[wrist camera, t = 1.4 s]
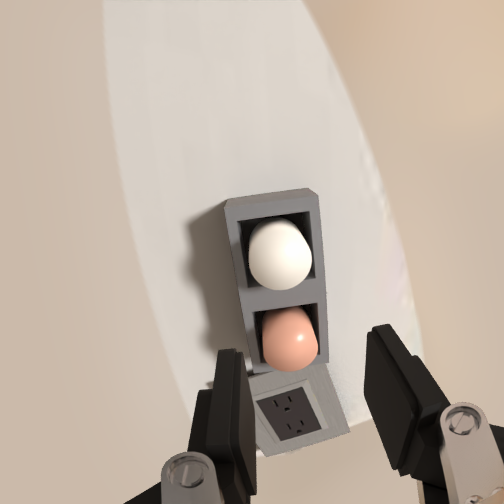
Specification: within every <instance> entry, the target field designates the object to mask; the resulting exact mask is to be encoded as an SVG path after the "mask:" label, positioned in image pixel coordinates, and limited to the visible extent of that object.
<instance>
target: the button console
mask: <svg viewBox="0 0 504 504" xmlns="http://www.w3.org/2000/svg"><path fill="white" fill-rule="evenodd" d="M224 211H225V217H226V223H227V229H228V235H229V241H230V246H231V252H232V258H233V263H234V269H235V275H236V280H237V286H238V291H239V297H240V302H241V308H242V313H243V319H244V324H245V329H246V335H247V340H248V345H249V351H250V356H251V361H252V366H253V372H254V373H262V372H270V371H277V370H276V369H274V368H273V367H271V366H270V365H269V364H268V363H267V362H266V360H265V358H264V353H263V337H259V332H258V326H257V320H256V314H255V311H262V310H270V309H277V308H284V307H291V306H298V305H304V304H311V314H312V328H313V331H314V334H315V337H316V340H317V344H318V352H317V355H316V357H315V359H314V360H313V361H312V362H311V363H310V364H309V365H308V366H311V365H317V364H323V363H329V347H328V320H327V300H326V283H325V267H324V254H323V241H322V230H321V219H320V209H319V199H318V195H317V194H316V193H314V192H313V191H312V190H310V189H309V188H303V189H295V190H287V191H280V192H272V193H265V194H258V195H251V196H244V197H237V198H231V199H228V200H227V202H226V205H225V207H224ZM297 212H302V216H303V225H304V235H305V241H306V243H307V245H308V246H309V249H310V251H311V256H312V263H311V268H310V271H309V273H308V275H307V276H306V278H305V279H304V280H303V281H302V282H301V283H299V284H298V285H296V286H295V287H293V288H290V289H286V290H272V289H269V288H266V287H264V286H263V285H261V284H260V283H258V282H257V280H256V279H255V278H254V277H253V275H252V273H251V270H250V268H248V265H247V259H246V253H245V246H244V240H243V234H242V228H241V222H240V220H247V219H254V218H261V217H268V216H275V215H283V214H290V213H297Z"/></svg>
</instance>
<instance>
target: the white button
mask: <svg viewBox="0 0 504 504" xmlns="http://www.w3.org/2000/svg"><path fill="white" fill-rule="evenodd" d="M311 263H312V256H311V251H310V249H309V246H308V245H307V243H306V241H305V239H304V238H303V236H302V234H301V232H300V231H299V229H298V227H297V226H296V225H295V224H294V223H293V222H291V221H290V220H288V219H285V218H281V217H272V218H268V219H265V220H263V221H261V222H260V223H259V224H257V225H256V227H255V228H254V229H253V231H252V233H251V235H250V239H249V267H250V270H251V273H252V275H253V277H254V278H255V279H256V280H257V282H258V283H260V284H261V285H263V286H264V287H266V288H269V289H272V290H286V289H290V288H293V287H295V286H296V285H298V284H299V283H301V282H302V281H303V280H304V279H305V278H306V276H307V275H308V273H309V271H310V268H311Z"/></svg>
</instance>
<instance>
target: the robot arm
mask: <svg viewBox="0 0 504 504" xmlns="http://www.w3.org/2000/svg"><path fill="white" fill-rule="evenodd" d="M364 396H365V400H366V402H367V405H368V407H369V410H370V412H371V415H372V417H373V420H374V422H375V425H376V428H377V430H378V432H379V435H380V438H381V440H382V443H383V446H384V448H385V451H386V453H387V456H388V459H389V462H390V464H391V467H392V469H393V470H396V469H398V471H399V473H400V476H404V475H408V474H410V475H411V477H412V478H414V479H417V487H418V495H419V503H420V504H504V427H500V426H496V425H491V424H488V421H487V419H486V416H485V414H484V413H483V411H482V410H481V409H480V408H479V407H478V406H476V405H474V404H471V403H466V402H461V403H455V404H452V405H451V404H450V402H449V401H448V399H447V398H446V396H445V395H444V393H443V392H442V390H441V389H440V387H439V386H438V384H437V383H436V381H435V380H434V378H433V377H432V375H431V374H430V372H429V371H428V369H427V368H426V367H425V365H424V364H423V362H422V361H421V359H420V358H419V357H418V356H416V355H414V356H411V354H410V353H409V351H408V350H407V348H406V347H405V345H404V344H403V342H402V341H401V340H400V338H399V337H398V335H397V334H396V332H395V331H394V329H393V328H392V327H391V325H390V324H384V325H379V326H375V327H373V328H372V331H371V332H368V333H367V347H366V365H365V379H364ZM256 484H257V482H256V427H255V409H254V404H253V399H252V395H251V390H250V385H249V380H248V376H247V371H246V366H245V361H244V356H243V353H242V352H237V351H236V349H235V348H234V349H224V350H219V351H218V356H217V363H216V370H215V377H214V384H213V389H206V390H199V392H198V395H197V401H196V406H195V411H194V417H193V422H192V428H191V434H190V439H189V445H188V450H187V452H183V453H180V454H177V455H175V456H173V457H171V458H170V459H169V460H168V461H167V462H166V463H165V464H164V466H163V468H162V472H161V482H159V483H157V484H156V485H154V486H153V487H151V488H149V489H148V490H146V491H144V492H143V493H141V494H139V495H138V496H136V497H134V498H132V499H131V500H129V501H127V502H125V503H124V504H250V496H251V495H256V493H257V485H256Z"/></svg>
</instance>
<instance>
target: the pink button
mask: <svg viewBox="0 0 504 504" xmlns="http://www.w3.org/2000/svg"><path fill="white" fill-rule="evenodd" d="M262 336H263V353H264V358H265V360H266V362H267V363H268V364H269V365H270V366H271V367H273V368H274V369H276V370H279V371H284V372H292V371H297V370H300V369H303V368H305V367H306V366H308V365H309V364H310V363H311V362H312V361H313V360H314V359H315V357H316V355H317V352H318V344H317V340H316V337H315V334H314V331H313V328H312V325H311V322H310V318H309V315H308V313H307V311H306V310H305V309H304V308H303V307H302V306H300V305H298V306H291V307H284V308H277V309H270V310H267V311H266V313H265V314H264V316H263V319H262Z"/></svg>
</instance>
